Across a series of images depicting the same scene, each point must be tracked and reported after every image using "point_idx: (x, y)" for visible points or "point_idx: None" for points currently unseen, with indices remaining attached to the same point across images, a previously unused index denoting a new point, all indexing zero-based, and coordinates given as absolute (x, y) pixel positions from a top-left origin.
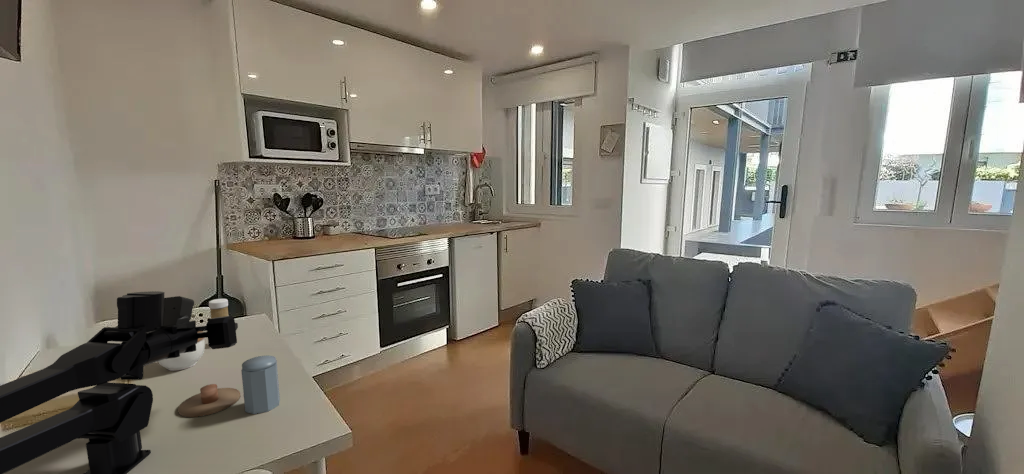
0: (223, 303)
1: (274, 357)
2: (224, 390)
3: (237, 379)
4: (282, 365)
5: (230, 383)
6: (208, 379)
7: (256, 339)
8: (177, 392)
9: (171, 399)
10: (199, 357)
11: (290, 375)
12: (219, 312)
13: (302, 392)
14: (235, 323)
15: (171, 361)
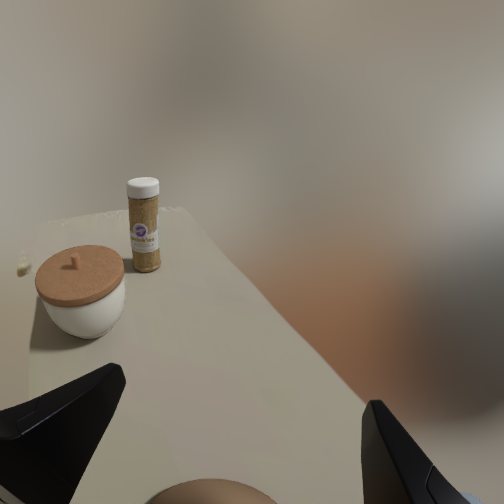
0: (152, 188)
1: (477, 500)
2: (231, 494)
3: (231, 428)
4: (311, 376)
5: (222, 445)
6: (156, 407)
7: (201, 262)
8: (105, 449)
9: (103, 481)
10: (119, 317)
11: (358, 425)
12: (144, 207)
13: None
14: (397, 423)
15: (71, 330)
